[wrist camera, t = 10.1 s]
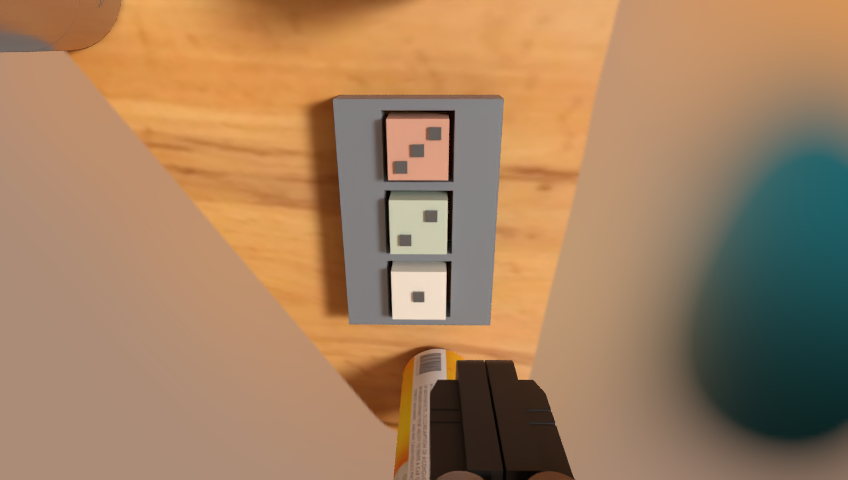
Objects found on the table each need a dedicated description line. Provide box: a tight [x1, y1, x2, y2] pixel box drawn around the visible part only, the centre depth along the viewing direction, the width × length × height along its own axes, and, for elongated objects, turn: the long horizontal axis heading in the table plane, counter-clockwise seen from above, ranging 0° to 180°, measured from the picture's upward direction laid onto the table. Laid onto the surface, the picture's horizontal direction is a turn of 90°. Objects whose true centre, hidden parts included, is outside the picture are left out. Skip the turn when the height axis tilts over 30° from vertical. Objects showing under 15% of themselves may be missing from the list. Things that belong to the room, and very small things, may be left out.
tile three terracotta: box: [386, 113, 449, 180], centre depth 32 cm, size 4×4×3 cm
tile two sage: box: [389, 190, 448, 254], centre depth 34 cm, size 4×4×3 cm
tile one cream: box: [391, 261, 447, 320], centre depth 36 cm, size 4×4×3 cm
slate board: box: [333, 95, 504, 325], centre depth 35 cm, size 11×17×2 cm, turn 0°
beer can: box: [394, 348, 465, 480], centre depth 35 cm, size 6×6×15 cm
